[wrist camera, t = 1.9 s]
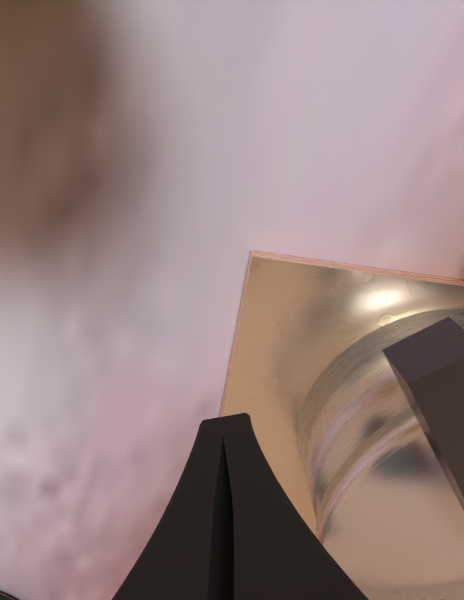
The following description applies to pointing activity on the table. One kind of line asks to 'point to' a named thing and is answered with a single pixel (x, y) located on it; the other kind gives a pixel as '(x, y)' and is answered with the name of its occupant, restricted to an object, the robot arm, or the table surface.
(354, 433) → the tan square board
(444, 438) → the cooker lid
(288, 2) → the table surface
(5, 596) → the coffee jar
